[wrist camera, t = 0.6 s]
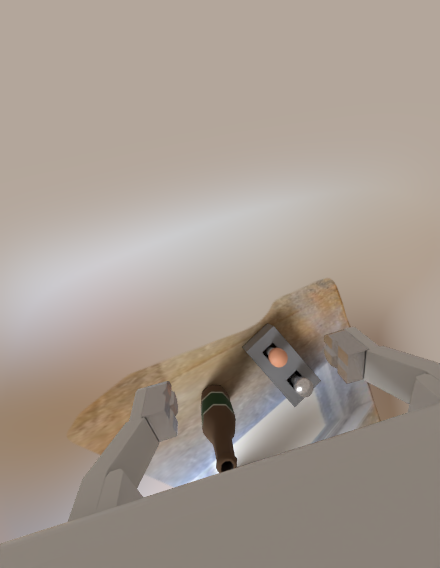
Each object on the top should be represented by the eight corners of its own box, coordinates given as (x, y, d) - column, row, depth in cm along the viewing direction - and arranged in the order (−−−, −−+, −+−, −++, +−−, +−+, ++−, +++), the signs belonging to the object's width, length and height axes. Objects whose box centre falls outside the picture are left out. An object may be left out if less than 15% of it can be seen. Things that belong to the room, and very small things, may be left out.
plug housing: (310, 373, 64) (320, 380, 59) (286, 397, 62) (294, 407, 57) (267, 323, 62) (273, 326, 57) (242, 347, 61) (246, 352, 56)
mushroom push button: (281, 351, 59) (291, 358, 53) (269, 362, 59) (278, 371, 52) (270, 339, 59) (279, 345, 53) (259, 350, 58) (266, 357, 52)
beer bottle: (196, 389, 59) (198, 455, 36) (222, 379, 60) (241, 436, 37) (205, 416, 59) (213, 500, 36) (231, 405, 60) (256, 479, 37)
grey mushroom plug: (304, 378, 60) (316, 388, 54) (293, 389, 59) (304, 400, 53) (294, 366, 59) (305, 375, 53) (282, 377, 59) (293, 387, 53)
